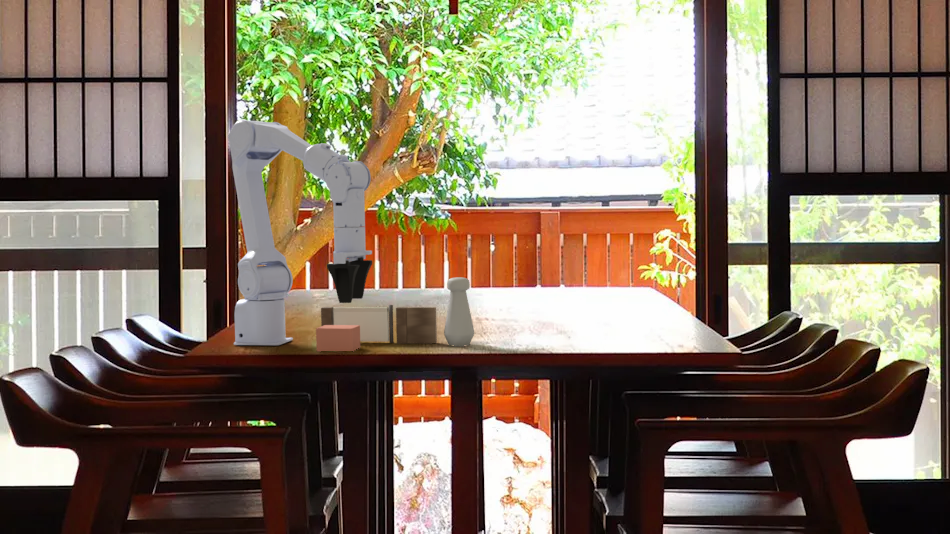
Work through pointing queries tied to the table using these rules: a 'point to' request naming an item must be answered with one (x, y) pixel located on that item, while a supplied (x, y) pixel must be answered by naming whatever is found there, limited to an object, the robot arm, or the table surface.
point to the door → (365, 321)
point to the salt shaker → (458, 314)
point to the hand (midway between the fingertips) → (351, 300)
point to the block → (338, 337)
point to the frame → (403, 324)
